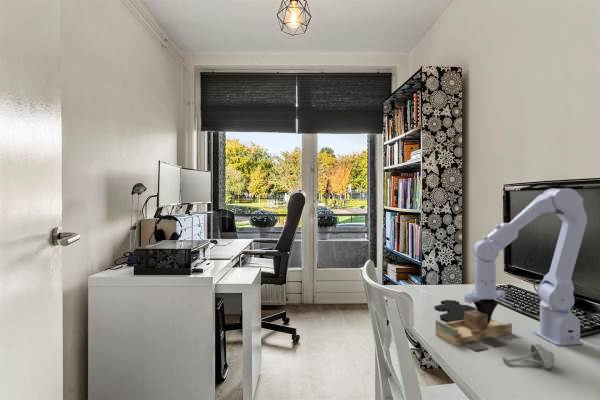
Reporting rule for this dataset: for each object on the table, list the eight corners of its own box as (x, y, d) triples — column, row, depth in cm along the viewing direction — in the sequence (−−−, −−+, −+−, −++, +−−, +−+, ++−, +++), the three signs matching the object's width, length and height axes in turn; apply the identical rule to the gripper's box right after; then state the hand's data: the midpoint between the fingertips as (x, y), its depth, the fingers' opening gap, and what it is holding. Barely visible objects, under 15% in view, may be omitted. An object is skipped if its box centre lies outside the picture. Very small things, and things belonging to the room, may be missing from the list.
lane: (489, 323, 114) (489, 310, 114) (527, 339, 102) (528, 325, 102) (435, 334, 106) (435, 320, 106) (470, 353, 94) (470, 337, 94)
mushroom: (497, 344, 91) (544, 338, 90) (497, 359, 92) (543, 353, 92) (513, 363, 84) (564, 357, 84) (513, 379, 85) (562, 373, 85)
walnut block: (475, 323, 110) (475, 309, 109) (487, 329, 105) (487, 314, 105) (464, 326, 108) (464, 311, 108) (476, 331, 104) (476, 316, 104)
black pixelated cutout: (497, 335, 106) (476, 304, 134) (497, 332, 106) (476, 302, 134) (440, 330, 110) (432, 301, 139) (440, 327, 110) (432, 298, 139)
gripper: (491, 274, 114) (491, 315, 114) (456, 278, 109) (456, 321, 109) (511, 279, 107) (511, 323, 108) (475, 284, 102) (475, 330, 103)
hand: (485, 323), depth 108 cm, fingers closed
